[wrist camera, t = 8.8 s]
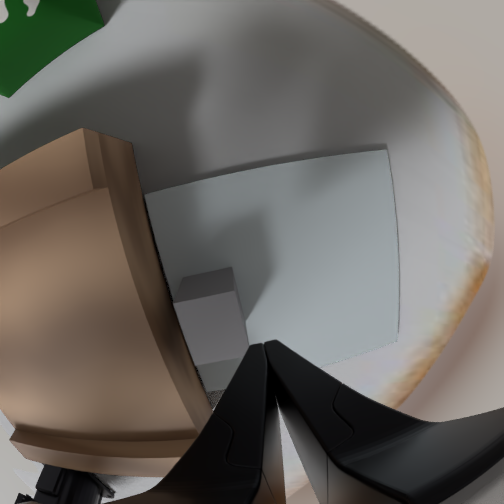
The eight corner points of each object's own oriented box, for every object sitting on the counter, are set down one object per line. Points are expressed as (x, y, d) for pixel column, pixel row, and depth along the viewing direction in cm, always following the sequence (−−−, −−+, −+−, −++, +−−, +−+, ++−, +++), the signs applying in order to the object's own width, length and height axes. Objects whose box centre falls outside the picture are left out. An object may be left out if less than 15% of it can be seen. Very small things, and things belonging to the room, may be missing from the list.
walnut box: (212, 410, 16) (212, 474, 11) (49, 415, 16) (25, 458, 11) (131, 143, 12) (82, 127, 7) (-37, 220, 11) (-88, 237, 6)
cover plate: (390, 333, 17) (422, 366, 13) (207, 381, 16) (205, 429, 12) (377, 150, 14) (422, 145, 10) (149, 193, 13) (122, 199, 9)
